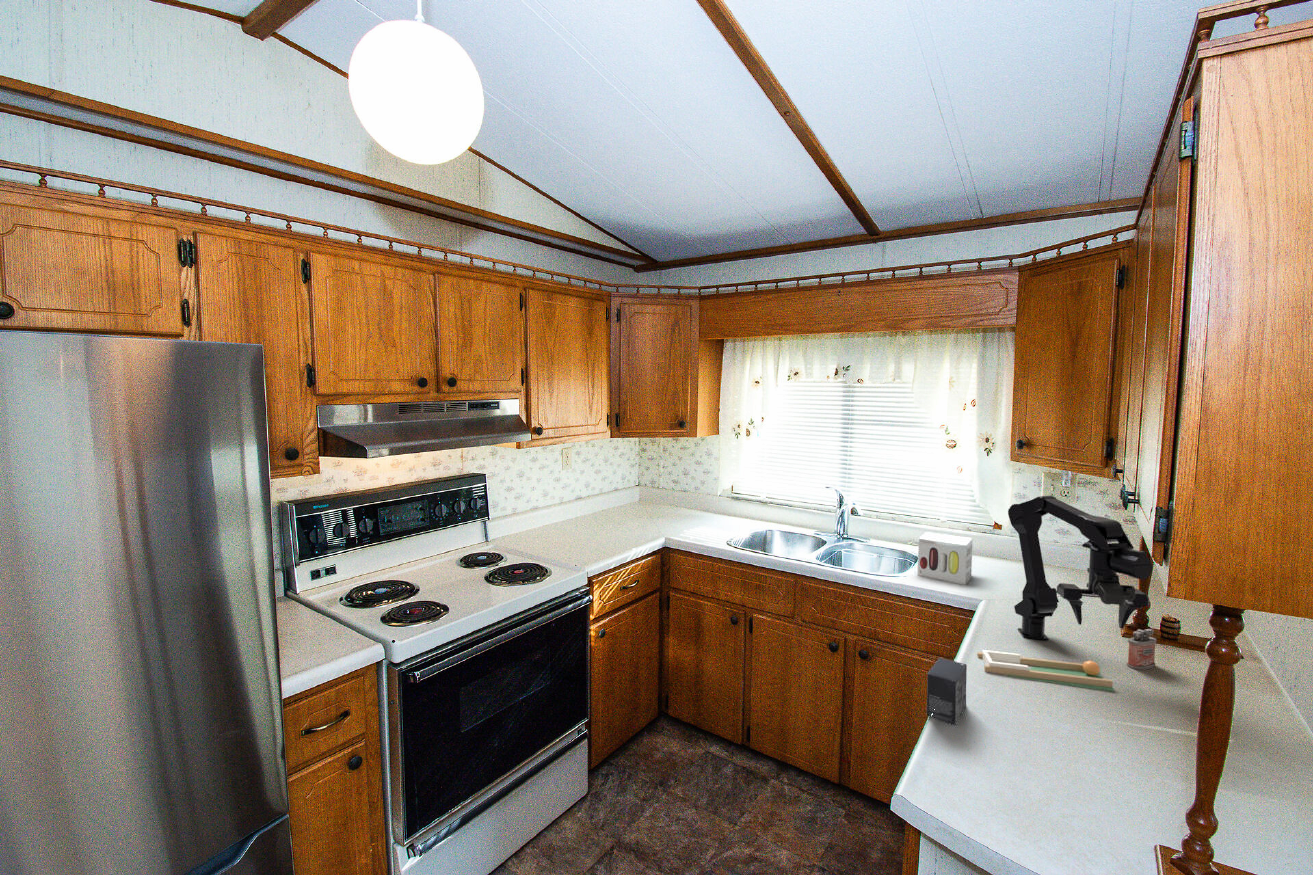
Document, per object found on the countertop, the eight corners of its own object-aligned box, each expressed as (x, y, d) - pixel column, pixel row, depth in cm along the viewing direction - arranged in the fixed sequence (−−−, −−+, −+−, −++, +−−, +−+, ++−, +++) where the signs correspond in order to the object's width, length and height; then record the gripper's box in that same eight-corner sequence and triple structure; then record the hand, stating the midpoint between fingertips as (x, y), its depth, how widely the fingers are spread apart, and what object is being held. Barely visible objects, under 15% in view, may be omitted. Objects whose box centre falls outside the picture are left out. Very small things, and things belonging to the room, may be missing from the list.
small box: (936, 698, 140) (938, 656, 139) (966, 707, 136) (968, 663, 135) (924, 717, 132) (925, 672, 131) (956, 727, 128) (957, 681, 127)
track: (976, 657, 161) (976, 650, 161) (1095, 671, 153) (1095, 663, 153) (986, 675, 151) (986, 668, 151) (1114, 691, 143) (1114, 683, 142)
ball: (1077, 661, 152) (1087, 661, 153) (1081, 675, 150) (1091, 676, 151) (1090, 659, 149) (1100, 660, 150) (1095, 674, 147) (1105, 675, 148)
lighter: (1136, 671, 153) (1138, 634, 153) (1123, 665, 156) (1125, 629, 156) (1158, 667, 155) (1160, 630, 155) (1145, 661, 159) (1147, 626, 158)
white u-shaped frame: (981, 658, 160) (982, 649, 159) (1019, 662, 157) (1019, 653, 157) (989, 671, 152) (989, 662, 152) (1028, 676, 149) (1028, 666, 149)
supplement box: (916, 583, 226) (917, 537, 225) (924, 575, 237) (925, 531, 236) (965, 592, 216) (967, 544, 215) (972, 583, 226) (973, 537, 225)
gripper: (1073, 573, 147) (1070, 633, 148) (1162, 580, 141) (1159, 642, 143) (1057, 561, 158) (1054, 618, 159) (1139, 567, 152) (1136, 625, 153)
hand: (1100, 626), depth 153 cm, fingers open, 9 cm apart
